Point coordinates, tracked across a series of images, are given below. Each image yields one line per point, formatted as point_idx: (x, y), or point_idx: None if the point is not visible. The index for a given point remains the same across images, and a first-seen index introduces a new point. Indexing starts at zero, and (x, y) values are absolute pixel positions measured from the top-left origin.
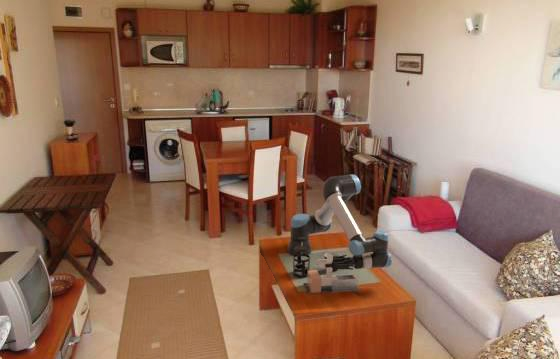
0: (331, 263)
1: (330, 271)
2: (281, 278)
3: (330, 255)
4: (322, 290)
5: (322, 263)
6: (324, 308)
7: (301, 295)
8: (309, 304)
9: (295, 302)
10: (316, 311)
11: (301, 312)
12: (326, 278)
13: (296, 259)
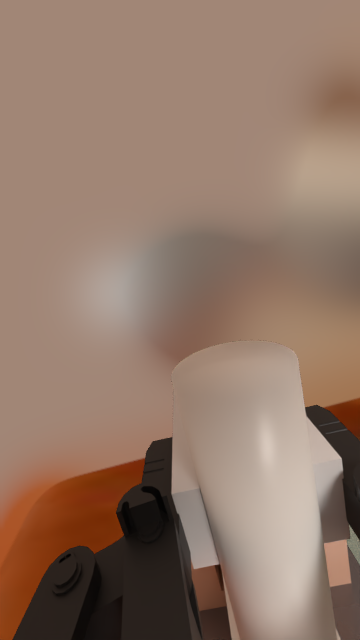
0: (212, 526)
1: (236, 622)
2: (351, 406)
3: (215, 370)
4: (217, 637)
5: (175, 404)
6: (6, 636)
7: None
8: (98, 530)
9: (137, 468)
10: (15, 567)
11: (54, 493)
12: (232, 614)
13: None
